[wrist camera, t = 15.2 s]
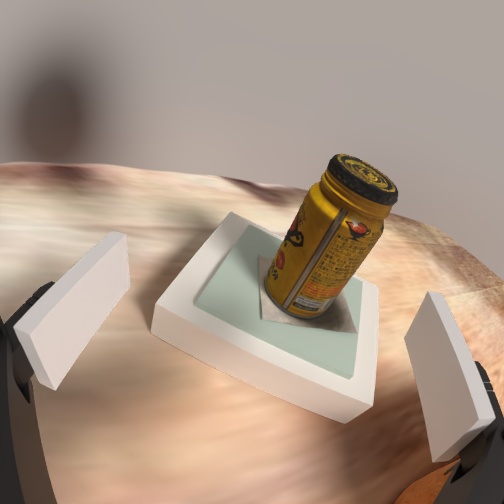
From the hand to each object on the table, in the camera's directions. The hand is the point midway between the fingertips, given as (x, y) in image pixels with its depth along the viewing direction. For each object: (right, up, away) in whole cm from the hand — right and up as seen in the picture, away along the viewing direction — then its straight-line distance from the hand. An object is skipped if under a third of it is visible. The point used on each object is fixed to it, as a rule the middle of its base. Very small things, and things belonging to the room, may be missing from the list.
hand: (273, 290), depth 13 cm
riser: (+1, -5, +17) cm, 18 cm away
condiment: (+4, -2, +14) cm, 15 cm away
